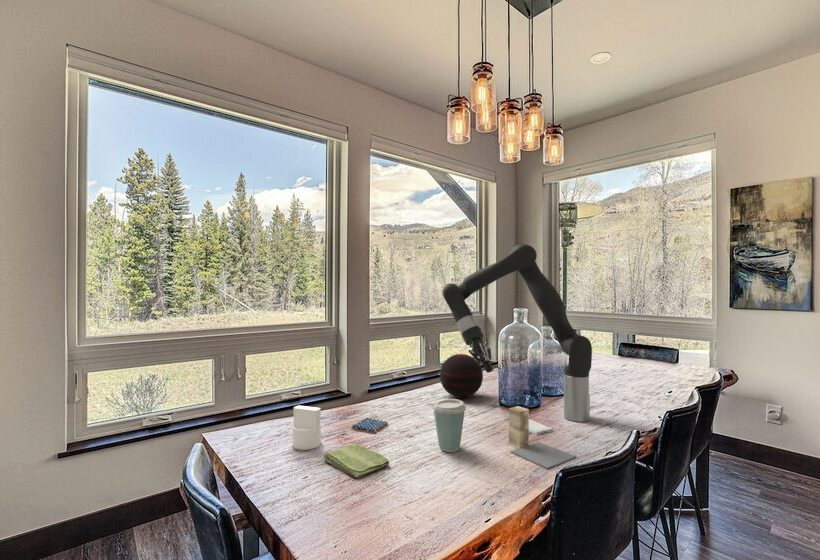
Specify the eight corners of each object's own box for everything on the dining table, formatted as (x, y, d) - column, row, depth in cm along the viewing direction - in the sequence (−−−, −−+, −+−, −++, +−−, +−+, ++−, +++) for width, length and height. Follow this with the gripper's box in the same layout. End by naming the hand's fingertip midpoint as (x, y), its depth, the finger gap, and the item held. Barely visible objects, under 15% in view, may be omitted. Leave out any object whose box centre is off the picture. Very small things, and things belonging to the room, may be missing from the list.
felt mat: (538, 442, 139) (538, 441, 139) (575, 457, 128) (575, 456, 128) (510, 452, 131) (510, 451, 131) (547, 469, 120) (547, 467, 120)
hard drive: (512, 421, 157) (536, 431, 147) (528, 418, 161) (553, 428, 150) (512, 425, 157) (536, 436, 146) (528, 422, 161) (553, 432, 150)
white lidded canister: (325, 440, 140) (326, 405, 140) (311, 451, 132) (311, 413, 132) (302, 437, 143) (303, 402, 143) (287, 447, 135) (287, 410, 135)
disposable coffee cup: (443, 457, 127) (444, 408, 127) (426, 445, 137) (426, 399, 137) (471, 451, 132) (472, 404, 132) (453, 439, 142) (453, 395, 142)
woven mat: (349, 430, 151) (349, 425, 151) (366, 422, 160) (366, 416, 160) (373, 435, 146) (374, 430, 146) (389, 426, 155) (389, 421, 155)
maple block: (517, 441, 141) (518, 406, 141) (528, 445, 137) (528, 409, 137) (508, 444, 138) (509, 408, 138) (519, 448, 134) (519, 411, 134)
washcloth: (357, 482, 112) (357, 470, 112) (321, 462, 125) (321, 451, 125) (392, 467, 122) (392, 456, 122) (355, 449, 134) (355, 439, 134)
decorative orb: (463, 406, 180) (463, 360, 180) (430, 396, 195) (431, 353, 195) (491, 397, 193) (491, 354, 193) (459, 389, 208) (459, 349, 208)
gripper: (468, 324, 151) (489, 367, 143) (486, 325, 161) (507, 366, 153) (453, 334, 155) (473, 377, 147) (471, 335, 165) (491, 375, 157)
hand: (490, 371), depth 150 cm, fingers closed
